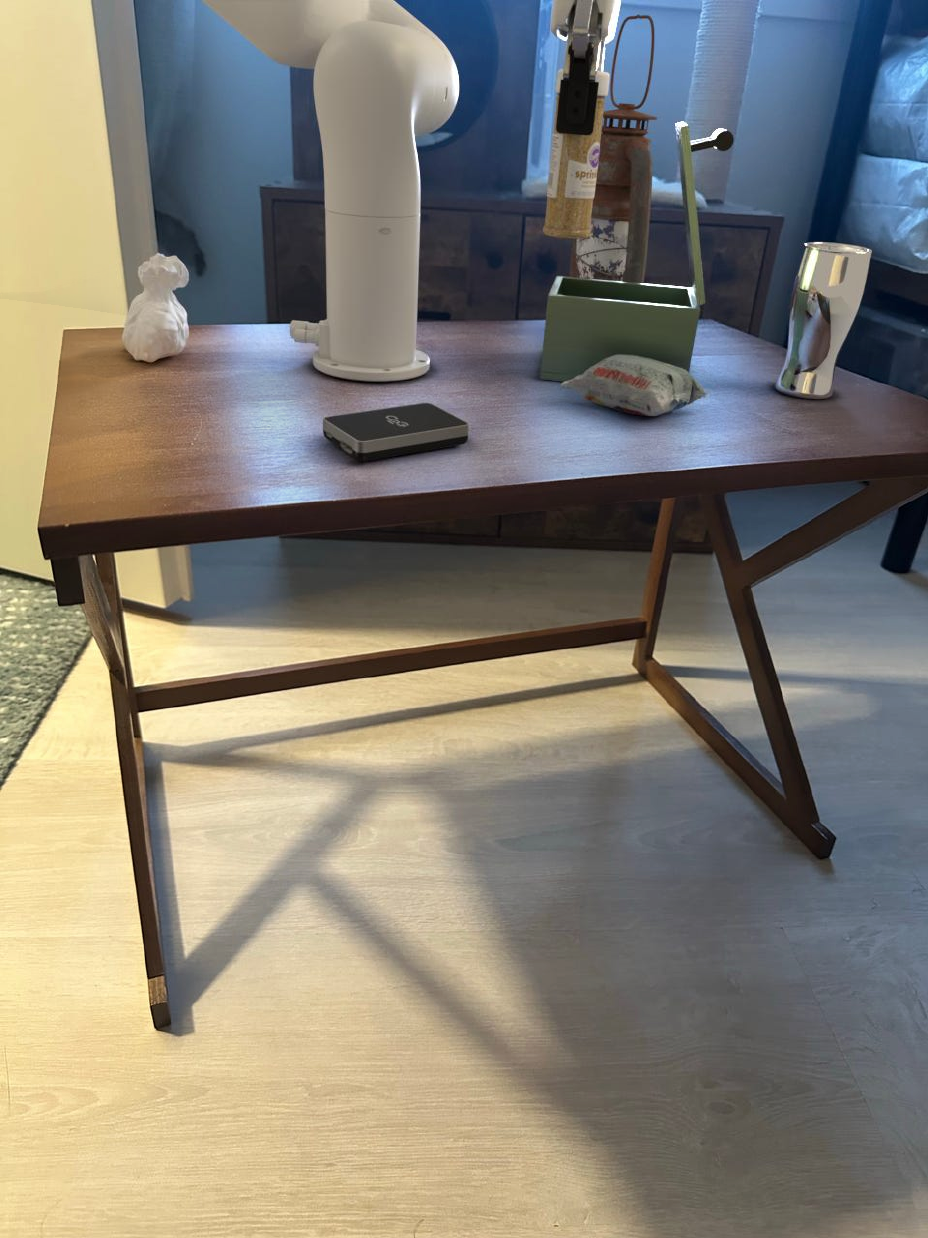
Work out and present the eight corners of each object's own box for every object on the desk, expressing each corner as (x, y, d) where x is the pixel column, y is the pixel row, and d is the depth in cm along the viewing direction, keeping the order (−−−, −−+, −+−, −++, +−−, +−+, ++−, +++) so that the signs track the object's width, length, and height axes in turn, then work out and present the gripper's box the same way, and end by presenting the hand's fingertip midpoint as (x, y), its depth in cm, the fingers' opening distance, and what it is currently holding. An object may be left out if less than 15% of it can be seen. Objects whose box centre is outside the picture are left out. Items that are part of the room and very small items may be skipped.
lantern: (588, 352, 112) (632, 6, 94) (532, 321, 125) (561, 12, 107) (666, 349, 115) (722, 16, 98) (603, 319, 128) (643, 20, 111)
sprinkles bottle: (584, 241, 84) (604, 70, 77) (536, 236, 85) (551, 66, 79) (595, 235, 88) (615, 71, 81) (548, 230, 89) (564, 68, 82)
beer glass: (846, 393, 103) (885, 249, 95) (819, 404, 98) (857, 254, 91) (788, 378, 107) (820, 239, 99) (759, 389, 102) (791, 244, 94)
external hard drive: (320, 440, 80) (320, 417, 78) (429, 423, 85) (430, 401, 84) (359, 466, 75) (359, 442, 74) (471, 446, 80) (473, 424, 79)
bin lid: (680, 126, 87) (735, 113, 85) (675, 123, 97) (724, 111, 96) (697, 305, 94) (748, 295, 93) (691, 284, 104) (736, 275, 103)
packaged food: (660, 433, 86) (669, 380, 84) (557, 403, 93) (563, 353, 90) (704, 416, 92) (714, 366, 90) (604, 389, 99) (611, 342, 96)
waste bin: (539, 379, 100) (548, 295, 96) (548, 352, 111) (556, 275, 106) (685, 394, 99) (700, 309, 94) (680, 365, 109) (694, 287, 104)
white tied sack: (173, 390, 96) (233, 299, 95) (106, 348, 92) (168, 251, 90) (153, 360, 106) (208, 277, 104) (92, 320, 101) (148, 233, 99)
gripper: (568, -109, 81) (546, 127, 90) (545, -153, 66) (522, 132, 76) (654, -105, 80) (623, 133, 89) (650, -150, 65) (613, 140, 75)
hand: (577, 130), depth 82 cm, fingers closed on sprinkles bottle, 4 cm apart
